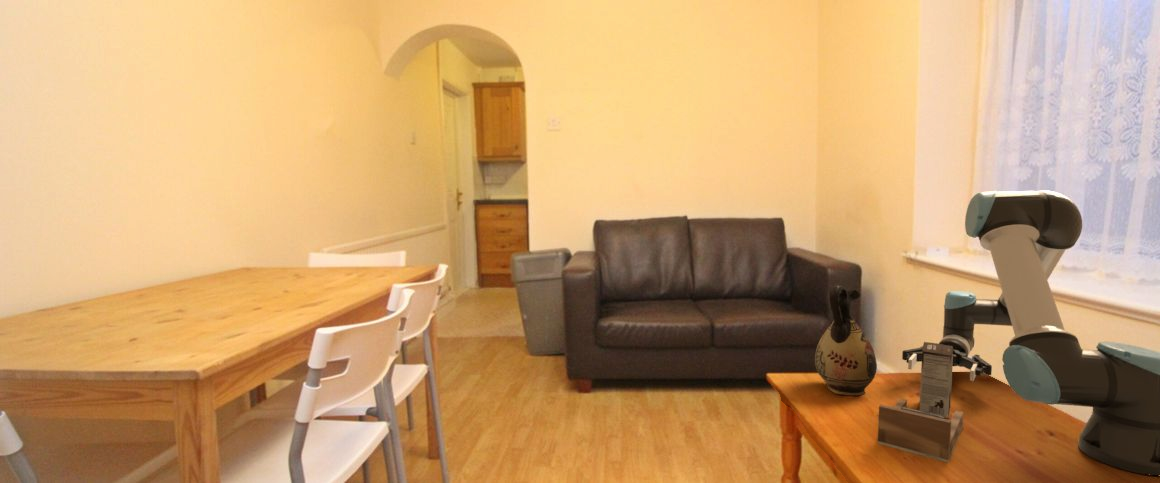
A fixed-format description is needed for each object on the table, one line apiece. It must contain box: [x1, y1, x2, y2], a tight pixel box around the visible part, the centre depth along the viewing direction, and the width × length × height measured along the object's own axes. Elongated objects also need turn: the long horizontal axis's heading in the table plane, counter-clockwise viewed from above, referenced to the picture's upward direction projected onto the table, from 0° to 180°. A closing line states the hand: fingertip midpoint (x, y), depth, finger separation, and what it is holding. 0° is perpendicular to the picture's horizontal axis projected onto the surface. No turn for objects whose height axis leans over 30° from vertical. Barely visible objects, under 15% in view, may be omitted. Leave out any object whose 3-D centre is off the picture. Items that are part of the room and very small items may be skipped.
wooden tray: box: [877, 398, 964, 463], centre depth 121 cm, size 22×13×8 cm, turn 138°
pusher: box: [902, 407, 945, 419], centre depth 120 cm, size 5×8×4 cm, turn 48°
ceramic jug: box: [814, 284, 878, 397], centre depth 146 cm, size 17×15×30 cm
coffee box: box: [919, 341, 954, 419], centre depth 133 cm, size 9×6×16 cm
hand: (939, 369), depth 139 cm, fingers open, 13 cm apart
